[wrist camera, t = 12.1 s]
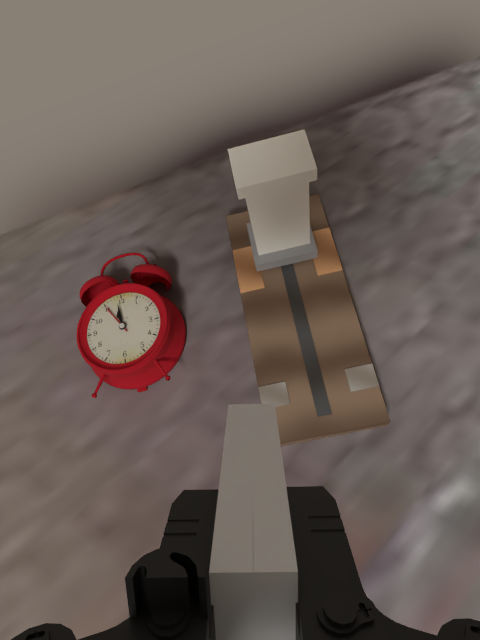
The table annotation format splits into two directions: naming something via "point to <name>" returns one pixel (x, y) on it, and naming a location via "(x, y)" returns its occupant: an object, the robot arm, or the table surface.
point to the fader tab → (277, 197)
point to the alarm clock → (130, 328)
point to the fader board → (307, 339)
